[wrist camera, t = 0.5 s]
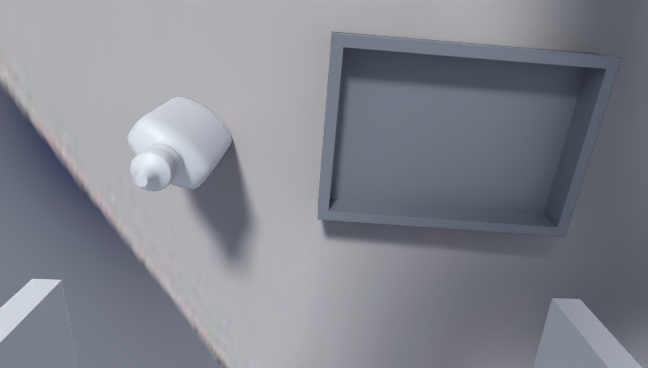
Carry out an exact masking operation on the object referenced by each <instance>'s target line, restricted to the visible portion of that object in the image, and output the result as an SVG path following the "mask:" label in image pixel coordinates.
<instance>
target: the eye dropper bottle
mask: <svg viewBox="0 0 648 368" xmlns="http://www.w3.org/2000/svg"><path fill="white" fill-rule="evenodd" d="M127 141H128V144H129V146H130V148H131V150H132V152H133V153H134V155H135V157H134V159H133V160H132V162H131V165H130V173H131V176H132V179H133V180H134V181H135V183H136V184H137V185H138V186H139V187H141V188H143V189H145V190H148V191H159V190H162V189H164V188H165V187H167V186H168V185H169V184H172V185H175V186H178V187H182V188H186V189H196V188H197V187H199V186H200V185H201V184H202V183H203V182H204V181H205V180H206V178H207V177H208V176H209V175H210V173H211V172H212V171H213V169H214V168H215V167H216V165H217V164H218V162H219V161H220V160H221V158H222V157H223V155H224V154H225V152H226V151H227V149H228V148H229V146H230V145H231V142H232V139H231V136H230V134H229V132H228V130H227V129H226V127H225V126H224V124H223V123H222V122H221V121H220V120H219V119H218V118H217V116H215V115H214V114H213V113H212V112H211V111H210V110H208V109H207V108H205V107H204V106H202V105H200V104H198V103H196V102H194V101H192V100H189V99H186V98H183V97H175V98H173V99H171V100H170V101H168V102H166V103H164V104H163V105H161V106H159V107H158V108H156V109H154V110H153V111H151V112H150V113H148V114H147V115H145V116H144V117H142V118H141V119H139V121H138V122H137V123H136V124H135V125H134V127H133V128H132V130H131V131H130V133H129V134H128V138H127Z"/></svg>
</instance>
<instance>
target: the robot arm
mask: <svg viewBox="0 0 648 368" xmlns="http://www.w3.org/2000/svg"><path fill="white" fill-rule="evenodd" d="M77 362H78V360H77V355H76V350H75V345H74V340H73V335H72V330H71V325H70V320H69V315H68V310H67V305H66V300H65V295H64V290H63V285H62V280H47V279H46V280H45V279H32V280H31V281H30V282H28V283H27V284H26V285H25V286H24V287H23V288H22V289H21V290H20V291H19V292H17V294H15V295H14V296H13V297H12V298H11V299H10V300H9V301H8V302H7V303H5V304H4V305H3V306H2V307H1V308H0V368H74V367H75V365H76V364H77ZM533 368H642V367H641V366H640V365H639V364H638V363H637V362H636V361H635V359H634V358H633V357H632V356H631V355H630V354H629V353H628V352H627V351H626V349H625V348H624V347H623V346H622V345H621V344H620V343H619V342H618V341H617V339H616V338H615V337H614V336H613V335H612V334H611V333H610V332H609V331H608V329H607V328H606V327H605V326H604V325H603V324H602V323H601V322H600V321H599V319H598V318H597V317H596V316H595V315H594V314H593V313H592V312H591V311H590V309H589V308H588V307H587V306H586V305H585V304H584V303H583V302H582V301H581V299H565V298H552V300H551V304H550V307H549V311H548V315H547V318H546V322H545V325H544V329H543V333H542V336H541V340H540V344H539V347H538V351H537V354H536V358H535V362H534V365H533Z"/></svg>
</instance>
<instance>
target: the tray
mask: <svg viewBox="0 0 648 368" xmlns="http://www.w3.org/2000/svg"><path fill="white" fill-rule="evenodd" d="M620 61H621V58H619V57H613V56H606V55H600V54H592V53H580V52H568V51H556V50H544V49H532V48H520V47H508V46H496V45H484V44H472V43H460V42H448V41H436V40H424V39H412V38H400V37H388V36H376V35H364V34H352V33H340V32H332V38H331V51H330V63H329V75H328V88H327V100H326V113H325V125H324V137H323V150H322V162H321V174H320V187H319V199H318V220H332V221H346V222H360V223H374V224H388V225H402V226H417V227H431V228H445V229H459V230H473V231H488V232H502V233H516V234H530V235H544V236H558V237H565V235H566V231H567V228H568V225H569V222H570V219H571V216H572V213H573V209H574V206H575V203H576V200H577V197H578V194H579V190H580V187H581V184H582V181H583V178H584V175H585V172H586V168H587V165H588V162H589V159H590V156H591V153H592V150H593V146H594V143H595V140H596V137H597V134H598V131H599V128H600V124H601V121H602V118H603V115H604V112H605V109H606V106H607V102H608V99H609V96H610V93H611V90H612V87H613V84H614V80H615V77H616V74H617V71H618V68H619V65H620Z"/></svg>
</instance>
